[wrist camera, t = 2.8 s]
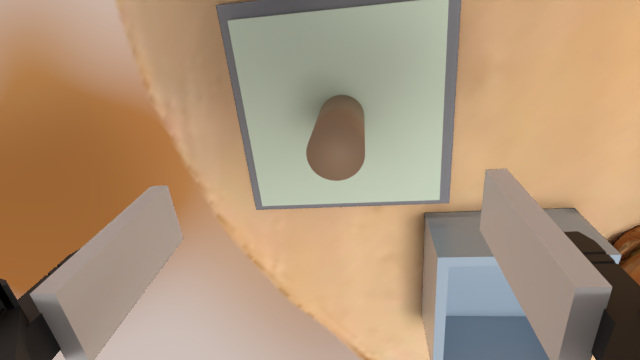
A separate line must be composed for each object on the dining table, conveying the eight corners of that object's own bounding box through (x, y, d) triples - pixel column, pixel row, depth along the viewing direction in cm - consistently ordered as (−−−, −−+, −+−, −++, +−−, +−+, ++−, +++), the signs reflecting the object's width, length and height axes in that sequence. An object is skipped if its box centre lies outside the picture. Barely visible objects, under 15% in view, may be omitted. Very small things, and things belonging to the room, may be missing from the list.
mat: (219, 5, 26) (215, 5, 25) (460, -22, 24) (462, -23, 23) (258, 206, 32) (256, 209, 32) (447, 199, 30) (449, 203, 30)
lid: (232, 19, 25) (180, 28, 18) (444, -3, 24) (482, -4, 16) (265, 199, 31) (236, 260, 24) (436, 192, 30) (461, 256, 22)
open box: (424, 212, 31) (437, 257, 26) (574, 208, 30) (621, 254, 24) (421, 315, 36) (432, 370, 31) (549, 316, 35) (584, 374, 29)
